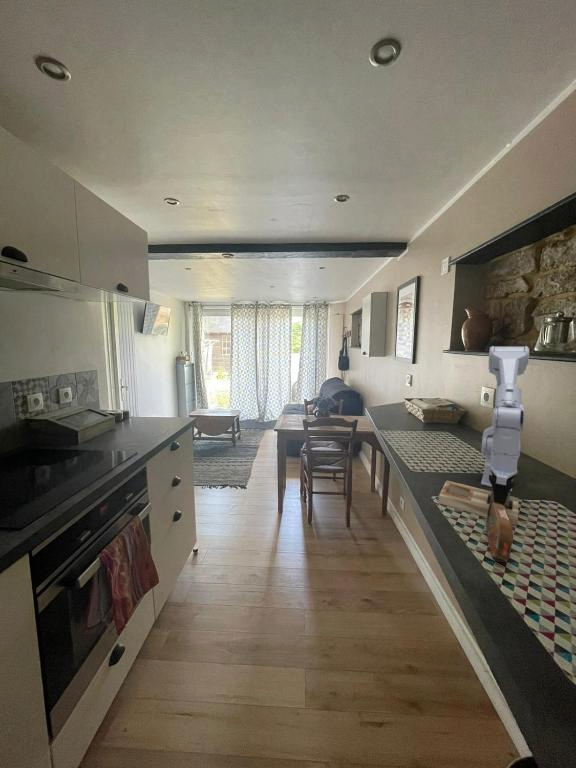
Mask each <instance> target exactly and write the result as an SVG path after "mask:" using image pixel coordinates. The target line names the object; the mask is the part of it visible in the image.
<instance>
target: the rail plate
mask: <svg viewBox="0 0 576 768" xmlns="http://www.w3.org/2000/svg"><path fill="white" fill-rule="evenodd" d="M491 491H492V490H491ZM491 491H490V490H487V489H483V488H477V487H475V486H474V487H473V486H471V485H467V484H463V483H458V482H455V481H454V482H453V481H450V480H446V481H445V482H444V485H443V487H442V489H441V491H440V493H439V494H438V504H440V505H443V506H446V507H450V508H453V509H454V508H455V509H457V510H461V511H464V512H467V513H470V514H474V515H478V516H481V517H484V518H487V515H488V509H489V505H490V502H491ZM506 510H507V513H508V516H509V518H510V521H511V524H512V526H516V527H517V526H518V521H519V497H515V496H511V495H510V499H509V509H506Z"/></svg>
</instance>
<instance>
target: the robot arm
mask: <svg viewBox="0 0 576 768" xmlns="http://www.w3.org/2000/svg"><path fill="white" fill-rule="evenodd" d="M529 359H530V348H529V347H528V345H525V346H494V345H492V346H490V347H489V354H488V370H489V371H488V372H489V373H490V374H492V375H494V376H495V379H496V389H495V399H494V400H495V401H494V402H495V403H494V404H495V405H494V408H493V410H492V418H491V419H492V420H491V422H492V423H491V424H492V426H489V427H487V428H486V429H484V431H482V438H481V439H482V441H481V449H480V450H481V453H482V454H483V455H484V456H485V458H484V459H485V460H484V471H483V474H482V477H481V482H480V485H483V486H487V487H490V488H491V489H492V488H493V494H494V500H495V502H496V503H500V504H505V502H506V499H507V496H508V494H509V492H510V493H511V492H512V491H513V488H514V486H515V485H516V481H513V479H514V477H516V475H517V474H518V469H517V468H518V459H519V458H520V456H521V431H523V429H524V427H525V422H526V421H525V420H526V418H525V417H526V416H525V415H526V414H525V408H524V405H523V403H522V389H521V388H520V387H519V385H517V379H518V376H520V375H524V374H525V371H526V370H527V366H528V365H529Z"/></svg>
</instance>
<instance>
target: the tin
mask: <svg viewBox="0 0 576 768" xmlns="http://www.w3.org/2000/svg"><path fill="white" fill-rule="evenodd" d="M489 504H490V505H489V509H488V515H487V517H486V536H487V541H488V544H489V549H490V554H491V557H492V558H497V559H501V560H504V561H508V560H509V559H510V557H511V550H512V547H513V543H514V530H513V529H514V528H513V525H512V524H511V521H510V518H509V516H508V513H507V510H506V508H505V506H503V505H500V504H497V503H493V502H491V503H489Z"/></svg>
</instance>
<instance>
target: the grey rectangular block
mask: <svg viewBox="0 0 576 768" xmlns="http://www.w3.org/2000/svg"><path fill="white" fill-rule="evenodd" d="M510 496H511V491H510V492H509V494H508V496H507V499H506V502H505V504H500V503H497V504H500V505H503V506H505V508H506V509H509V499H510ZM491 502H493V503H496V502H495V500H494V494H493V488H492V487H491ZM491 502H490V503H491ZM490 503H489V504H490ZM509 510H510V509H509Z"/></svg>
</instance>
